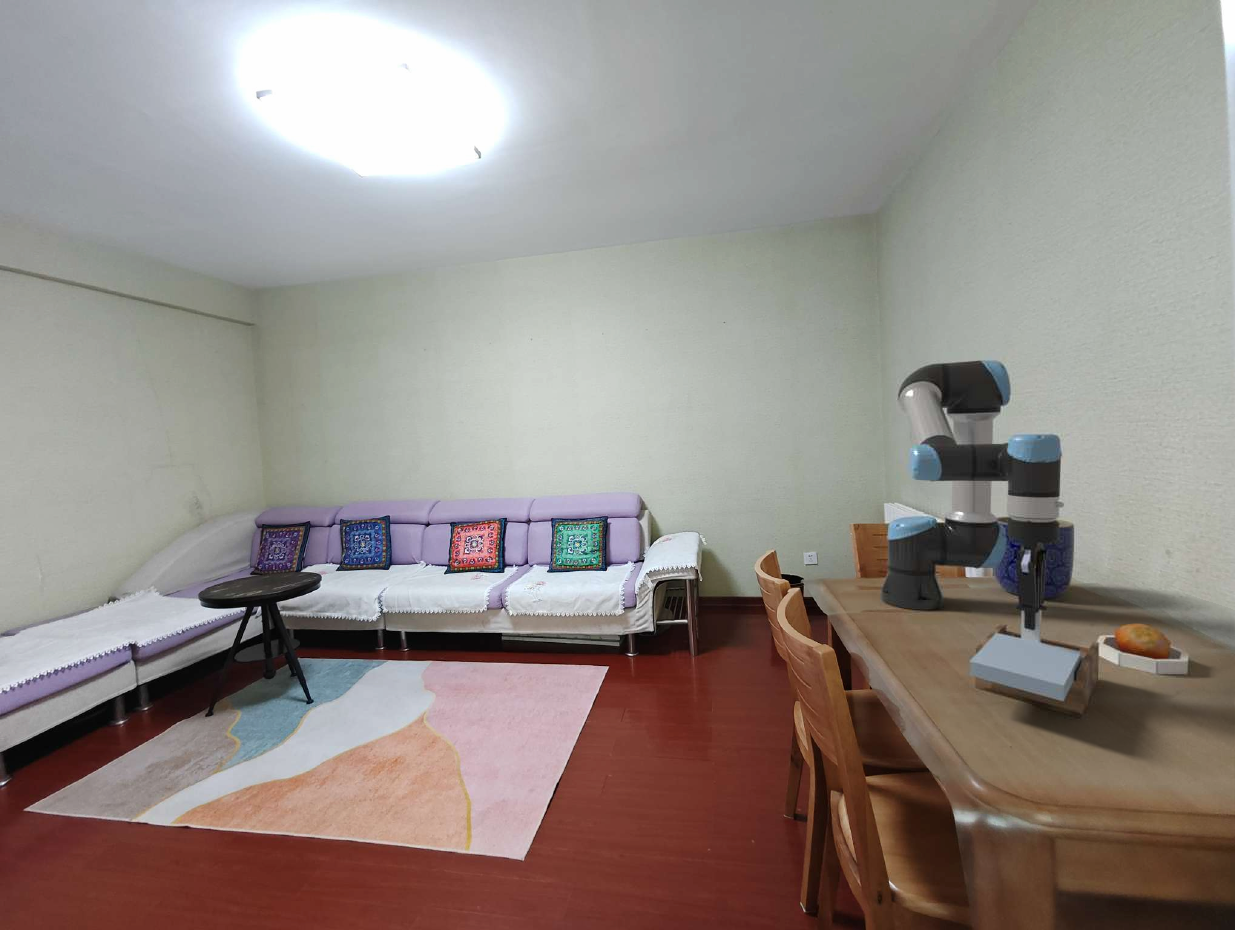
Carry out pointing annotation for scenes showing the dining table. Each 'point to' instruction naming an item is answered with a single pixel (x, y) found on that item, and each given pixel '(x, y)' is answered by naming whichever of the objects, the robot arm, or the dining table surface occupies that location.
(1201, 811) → the dining table surface
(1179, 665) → the fruit ring
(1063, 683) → the lid
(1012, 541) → the planter
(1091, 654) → the box
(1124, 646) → the fruit
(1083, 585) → the dining table surface
